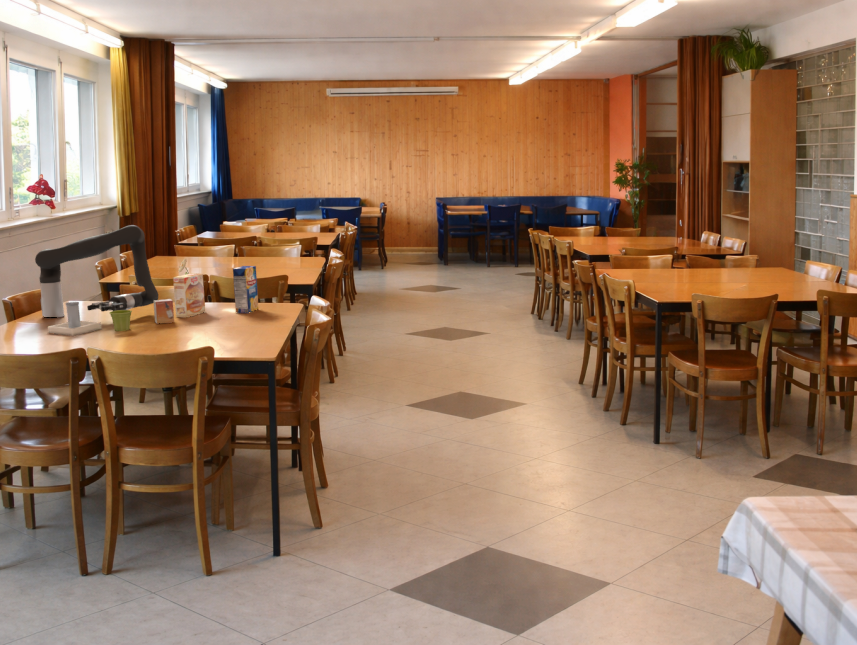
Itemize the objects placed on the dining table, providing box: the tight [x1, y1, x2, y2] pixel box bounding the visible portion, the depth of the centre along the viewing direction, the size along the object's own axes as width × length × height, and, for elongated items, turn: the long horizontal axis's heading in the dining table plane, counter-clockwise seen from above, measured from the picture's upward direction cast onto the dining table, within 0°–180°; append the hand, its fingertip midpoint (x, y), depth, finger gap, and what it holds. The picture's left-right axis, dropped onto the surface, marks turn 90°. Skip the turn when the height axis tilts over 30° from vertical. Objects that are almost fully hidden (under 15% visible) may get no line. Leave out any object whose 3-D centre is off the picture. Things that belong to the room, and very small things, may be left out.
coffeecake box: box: [172, 273, 206, 318], centre depth 395 cm, size 15×7×20 cm, turn 160°
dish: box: [47, 320, 102, 337], centre depth 359 cm, size 15×15×3 cm
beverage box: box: [232, 265, 259, 314], centre depth 401 cm, size 7×11×22 cm, turn 165°
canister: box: [65, 301, 81, 328], centre depth 359 cm, size 5×5×12 cm
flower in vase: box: [177, 258, 190, 275], centre depth 421 cm, size 13×11×25 cm
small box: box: [153, 298, 175, 325], centre depth 378 cm, size 8×6×10 cm
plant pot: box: [109, 309, 133, 332], centre depth 360 cm, size 9×9×9 cm
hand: (94, 308), depth 369 cm, fingers open, 8 cm apart
